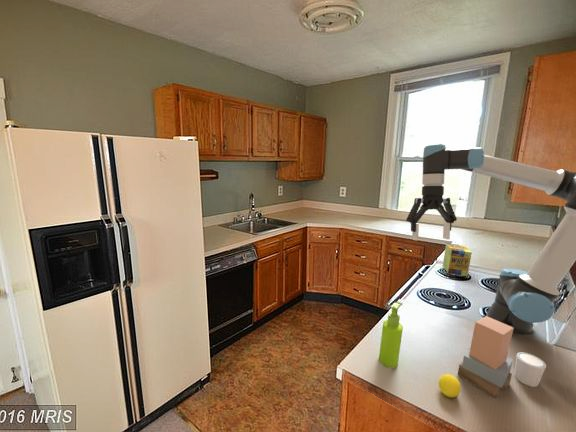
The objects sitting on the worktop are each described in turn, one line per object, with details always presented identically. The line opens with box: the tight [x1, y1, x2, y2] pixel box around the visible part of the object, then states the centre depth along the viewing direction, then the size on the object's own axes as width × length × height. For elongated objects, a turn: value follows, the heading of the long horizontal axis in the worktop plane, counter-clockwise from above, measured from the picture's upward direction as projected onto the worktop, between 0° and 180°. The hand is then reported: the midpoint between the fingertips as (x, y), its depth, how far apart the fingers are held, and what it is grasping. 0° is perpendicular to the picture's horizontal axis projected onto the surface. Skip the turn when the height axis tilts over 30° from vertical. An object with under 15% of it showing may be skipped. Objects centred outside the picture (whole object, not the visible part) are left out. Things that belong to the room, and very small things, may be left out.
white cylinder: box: [514, 351, 547, 388], centre depth 84 cm, size 7×7×7 cm
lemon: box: [438, 373, 462, 398], centre depth 78 cm, size 7×5×5 cm
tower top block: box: [461, 348, 514, 388], centre depth 83 cm, size 10×10×4 cm
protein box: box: [442, 242, 472, 278], centre depth 168 cm, size 10×15×16 cm
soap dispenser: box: [378, 301, 404, 369], centre depth 89 cm, size 6×7×20 cm
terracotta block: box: [469, 315, 514, 370], centre depth 82 cm, size 7×7×11 cm
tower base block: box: [457, 361, 513, 399], centre depth 84 cm, size 10×10×4 cm
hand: (430, 239), depth 109 cm, fingers open, 13 cm apart
